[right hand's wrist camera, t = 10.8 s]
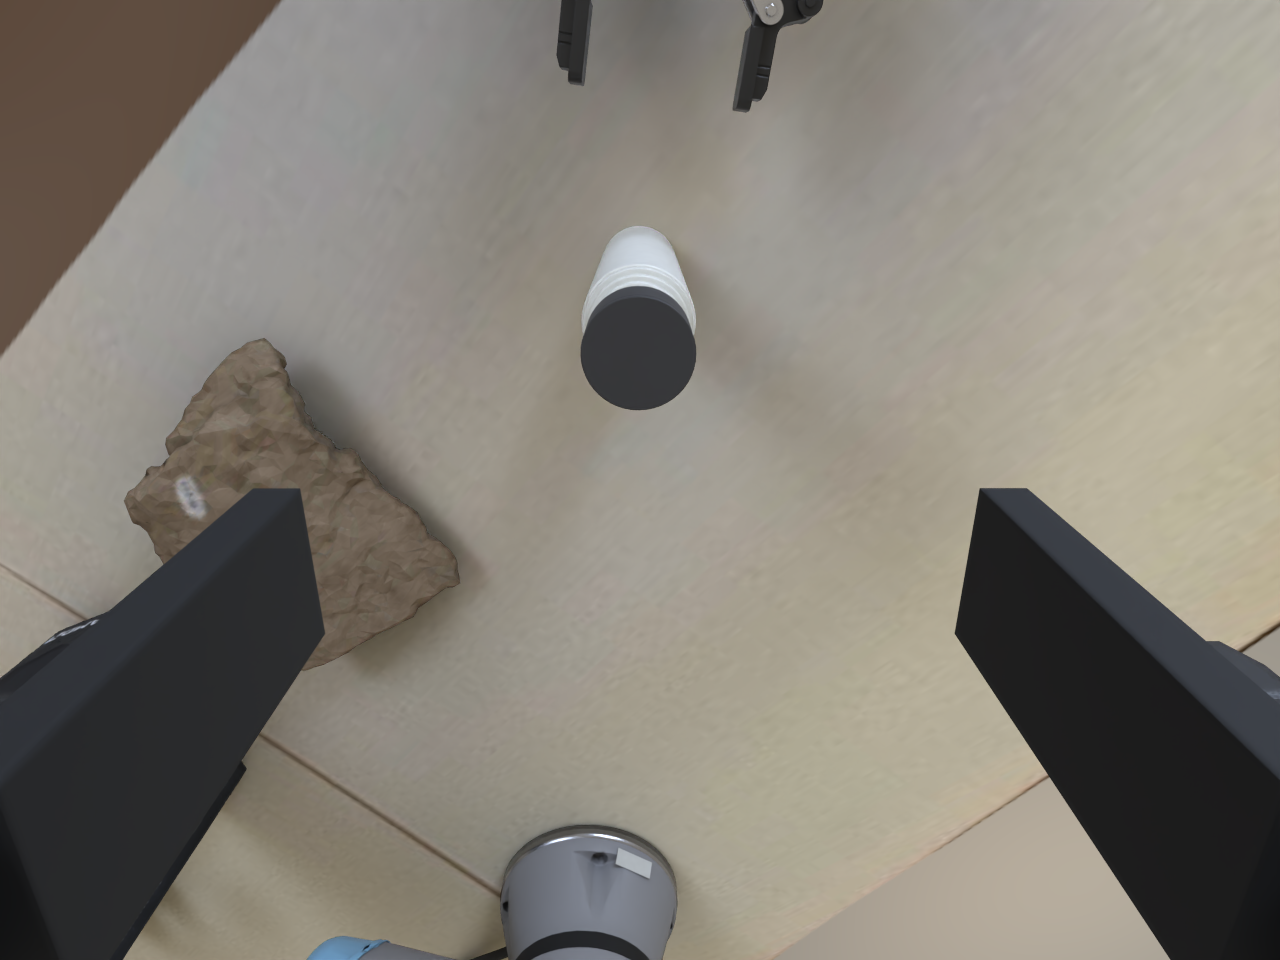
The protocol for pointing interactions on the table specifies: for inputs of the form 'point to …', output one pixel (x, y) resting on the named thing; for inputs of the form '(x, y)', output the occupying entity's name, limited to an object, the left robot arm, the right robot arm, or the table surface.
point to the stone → (330, 488)
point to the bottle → (639, 270)
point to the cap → (638, 348)
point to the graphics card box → (70, 636)
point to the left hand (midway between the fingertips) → (659, 97)
